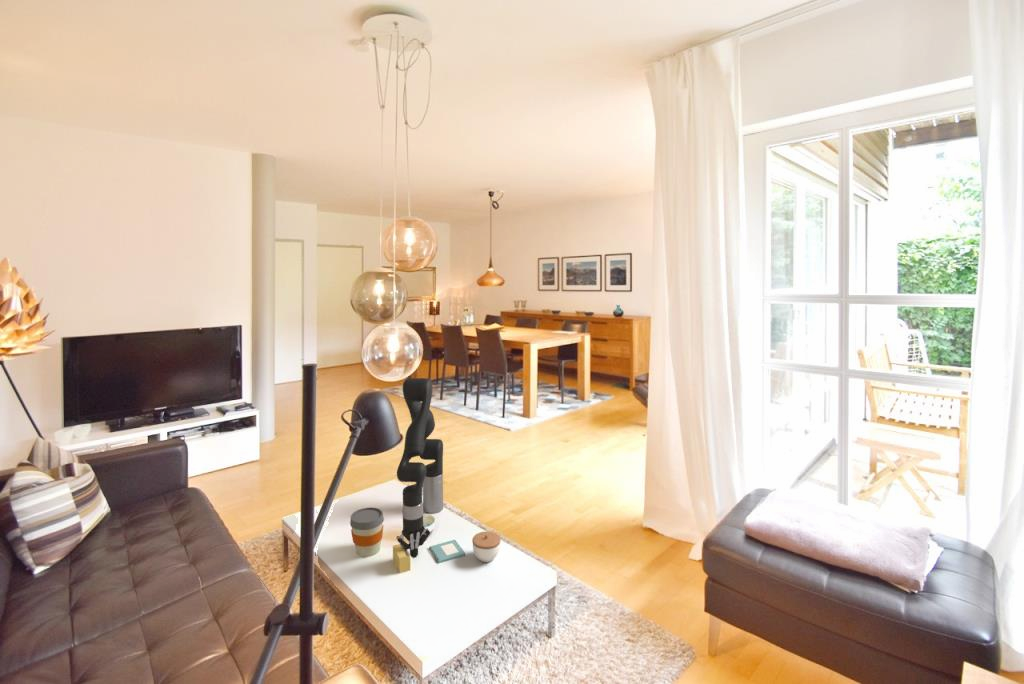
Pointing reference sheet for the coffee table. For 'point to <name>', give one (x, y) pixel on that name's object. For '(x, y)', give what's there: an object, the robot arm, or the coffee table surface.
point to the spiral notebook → (447, 551)
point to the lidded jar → (486, 545)
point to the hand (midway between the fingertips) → (413, 556)
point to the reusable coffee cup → (367, 531)
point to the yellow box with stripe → (401, 558)
